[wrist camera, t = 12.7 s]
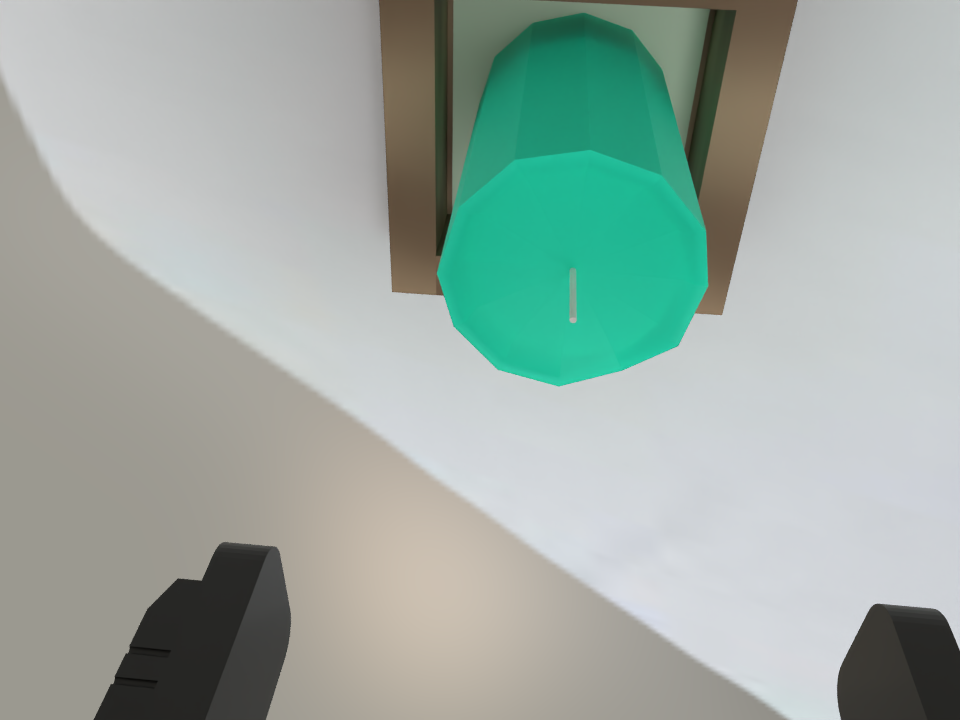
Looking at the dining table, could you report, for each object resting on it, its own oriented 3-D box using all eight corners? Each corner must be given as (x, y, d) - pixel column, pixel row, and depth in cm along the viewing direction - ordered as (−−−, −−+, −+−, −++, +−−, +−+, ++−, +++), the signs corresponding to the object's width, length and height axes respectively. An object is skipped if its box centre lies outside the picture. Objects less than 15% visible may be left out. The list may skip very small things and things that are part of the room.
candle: (475, 188, 29) (427, 416, 19) (484, 4, 25) (430, 172, 15) (650, 203, 28) (690, 441, 19) (684, 19, 25) (756, 199, 15)
